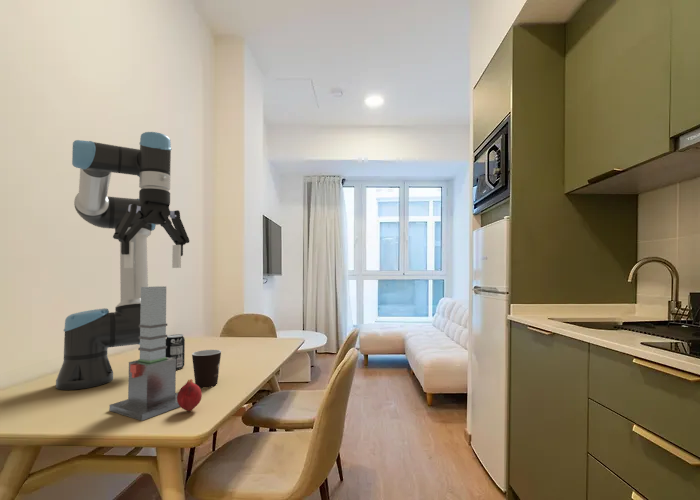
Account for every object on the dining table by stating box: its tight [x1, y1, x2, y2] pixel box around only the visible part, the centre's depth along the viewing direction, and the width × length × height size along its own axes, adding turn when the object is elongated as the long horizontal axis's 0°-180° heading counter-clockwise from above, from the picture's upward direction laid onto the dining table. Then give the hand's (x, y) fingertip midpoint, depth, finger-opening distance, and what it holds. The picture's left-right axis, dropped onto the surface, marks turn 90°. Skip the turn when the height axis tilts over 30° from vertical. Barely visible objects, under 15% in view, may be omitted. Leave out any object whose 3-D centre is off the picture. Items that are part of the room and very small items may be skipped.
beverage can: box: [166, 333, 186, 371], centre depth 137 cm, size 7×7×12 cm
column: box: [137, 285, 168, 364], centre depth 99 cm, size 5×5×22 cm
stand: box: [108, 357, 181, 421], centre depth 98 cm, size 14×14×12 cm
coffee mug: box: [191, 349, 222, 389], centre depth 118 cm, size 12×9×10 cm
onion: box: [177, 378, 203, 413], centre depth 94 cm, size 6×6×8 cm
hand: (153, 267), depth 100 cm, fingers open, 13 cm apart
